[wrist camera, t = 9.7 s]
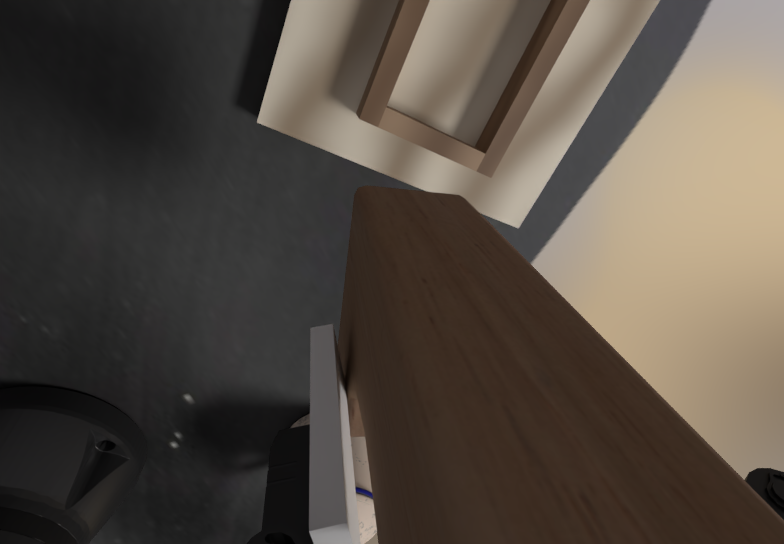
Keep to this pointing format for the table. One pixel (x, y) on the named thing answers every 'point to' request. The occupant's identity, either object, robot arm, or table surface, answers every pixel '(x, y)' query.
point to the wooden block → (510, 400)
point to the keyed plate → (449, 87)
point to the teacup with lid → (358, 484)
